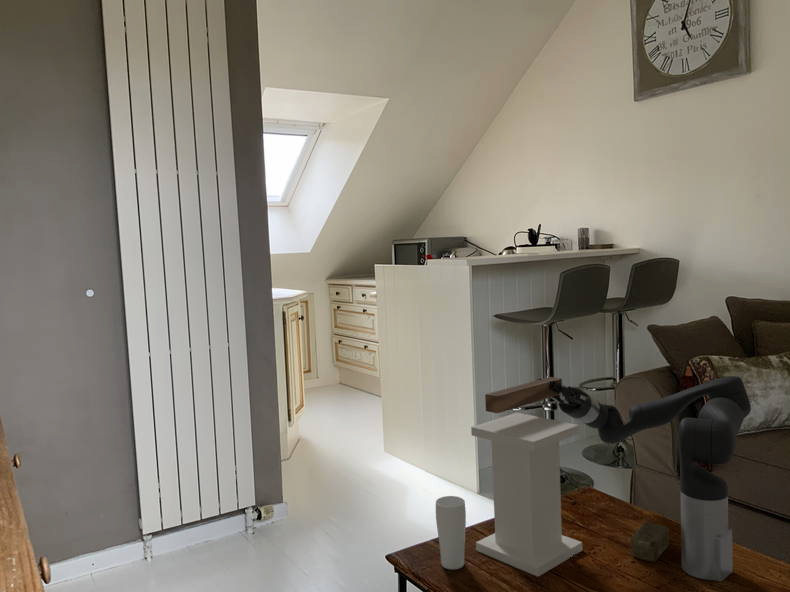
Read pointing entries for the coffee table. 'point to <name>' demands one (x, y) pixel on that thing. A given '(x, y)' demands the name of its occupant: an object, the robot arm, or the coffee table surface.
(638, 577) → the coffee table surface
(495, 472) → the shelf stand
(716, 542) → the robot arm
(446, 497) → the drinking glass
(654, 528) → the stone block
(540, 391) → the walnut bar
